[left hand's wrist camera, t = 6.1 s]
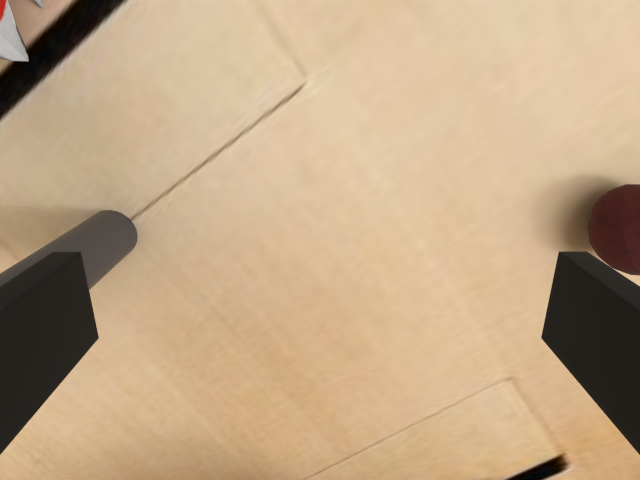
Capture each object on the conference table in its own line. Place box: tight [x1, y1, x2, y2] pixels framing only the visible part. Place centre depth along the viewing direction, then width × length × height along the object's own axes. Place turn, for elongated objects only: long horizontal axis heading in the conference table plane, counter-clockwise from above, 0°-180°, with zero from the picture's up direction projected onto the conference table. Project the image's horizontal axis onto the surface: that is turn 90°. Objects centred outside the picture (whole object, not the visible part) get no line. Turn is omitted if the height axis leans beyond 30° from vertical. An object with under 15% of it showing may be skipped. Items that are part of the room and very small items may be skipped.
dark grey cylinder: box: [0, 211, 137, 289], centre depth 32 cm, size 4×4×20 cm
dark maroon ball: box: [588, 185, 640, 275], centre depth 37 cm, size 7×8×7 cm
